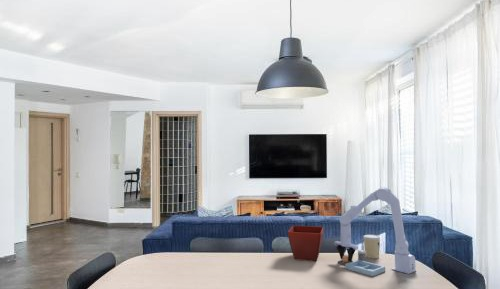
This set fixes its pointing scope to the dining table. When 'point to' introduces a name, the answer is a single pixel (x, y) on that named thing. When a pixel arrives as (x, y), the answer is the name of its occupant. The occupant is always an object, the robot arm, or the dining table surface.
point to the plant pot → (305, 242)
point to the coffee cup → (371, 246)
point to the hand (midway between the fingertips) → (346, 260)
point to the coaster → (342, 262)
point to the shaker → (361, 255)
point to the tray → (365, 268)
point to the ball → (345, 259)
